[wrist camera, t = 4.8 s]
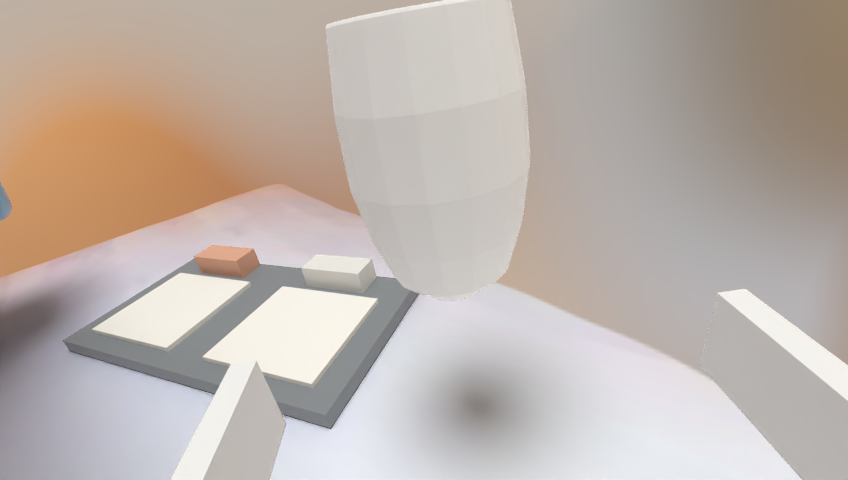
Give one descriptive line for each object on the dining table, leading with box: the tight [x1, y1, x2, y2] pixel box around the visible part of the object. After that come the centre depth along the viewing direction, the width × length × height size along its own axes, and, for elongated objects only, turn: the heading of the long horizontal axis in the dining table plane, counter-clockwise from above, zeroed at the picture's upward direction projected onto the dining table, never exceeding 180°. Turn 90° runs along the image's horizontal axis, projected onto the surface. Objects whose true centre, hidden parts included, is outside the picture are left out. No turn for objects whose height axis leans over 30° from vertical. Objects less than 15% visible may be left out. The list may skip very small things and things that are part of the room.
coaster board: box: [63, 245, 419, 429], centre depth 34 cm, size 28×14×3 cm, turn 68°
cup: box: [326, 0, 530, 301], centre depth 18 cm, size 7×7×21 cm
